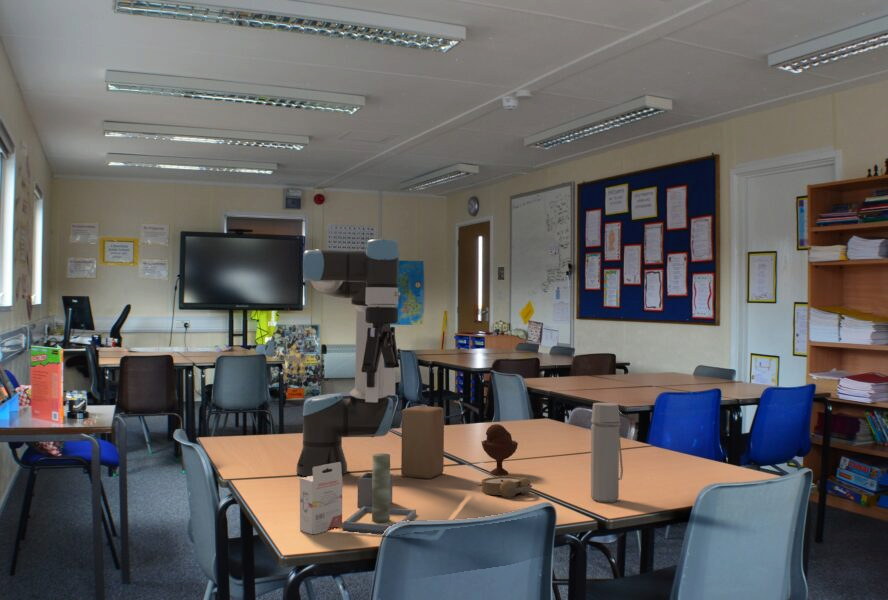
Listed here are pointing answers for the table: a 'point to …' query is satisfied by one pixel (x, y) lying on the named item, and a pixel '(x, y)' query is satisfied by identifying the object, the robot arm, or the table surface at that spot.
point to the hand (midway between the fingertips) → (380, 398)
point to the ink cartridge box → (321, 499)
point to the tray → (373, 528)
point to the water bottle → (605, 452)
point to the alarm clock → (505, 486)
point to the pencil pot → (368, 490)
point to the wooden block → (422, 442)
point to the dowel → (381, 488)
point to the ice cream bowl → (499, 446)
